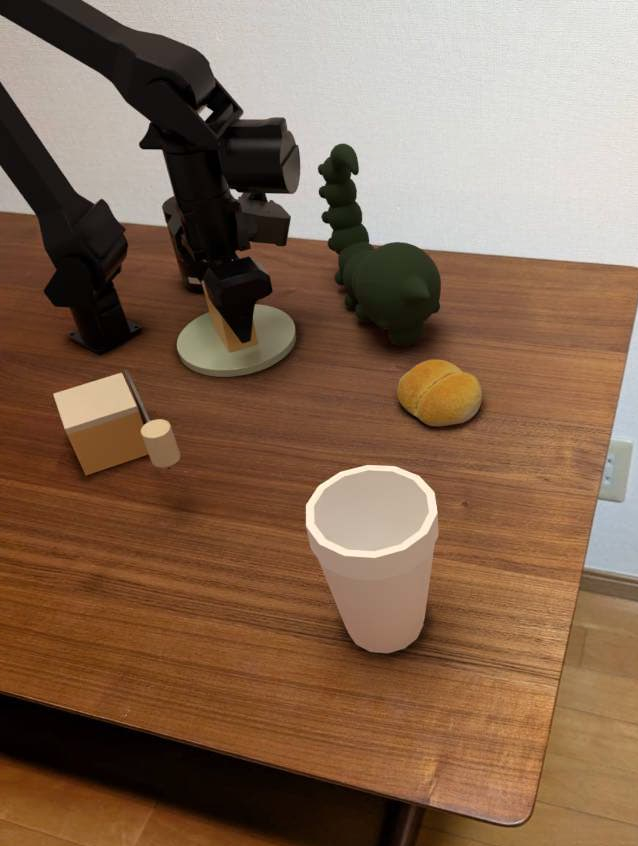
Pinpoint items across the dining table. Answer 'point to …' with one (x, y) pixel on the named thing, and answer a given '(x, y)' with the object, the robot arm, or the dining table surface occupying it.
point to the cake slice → (227, 329)
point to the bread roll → (439, 393)
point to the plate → (212, 357)
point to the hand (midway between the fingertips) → (233, 322)
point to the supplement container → (185, 271)
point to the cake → (102, 423)
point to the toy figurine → (376, 260)
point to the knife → (156, 435)
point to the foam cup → (376, 551)
